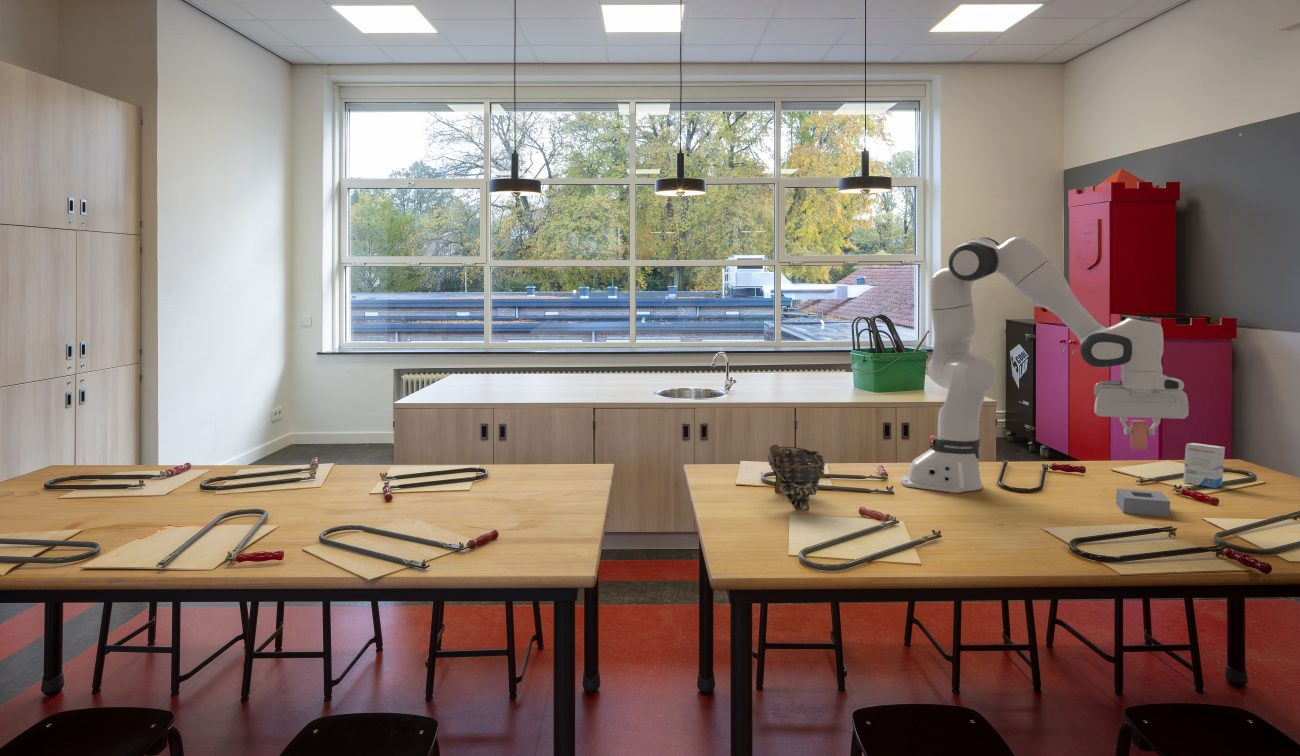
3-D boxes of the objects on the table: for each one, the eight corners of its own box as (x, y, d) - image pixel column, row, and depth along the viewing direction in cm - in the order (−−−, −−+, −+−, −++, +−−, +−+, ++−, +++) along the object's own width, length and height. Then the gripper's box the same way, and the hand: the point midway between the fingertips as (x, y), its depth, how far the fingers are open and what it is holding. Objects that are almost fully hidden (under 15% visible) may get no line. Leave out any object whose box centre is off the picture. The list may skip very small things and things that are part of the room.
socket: (1123, 513, 197) (1124, 497, 196) (1116, 502, 206) (1116, 488, 205) (1169, 516, 193) (1170, 501, 193) (1159, 506, 202) (1160, 491, 202)
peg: (1131, 449, 196) (1132, 422, 195) (1129, 446, 199) (1130, 420, 198) (1148, 450, 194) (1149, 422, 193) (1145, 447, 197) (1146, 420, 197)
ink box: (1223, 486, 222) (1226, 446, 221) (1216, 488, 219) (1219, 448, 218) (1189, 480, 229) (1192, 441, 228) (1182, 482, 226) (1185, 443, 225)
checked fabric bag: (760, 493, 223) (762, 442, 222) (812, 494, 223) (814, 443, 222) (775, 510, 200) (777, 453, 200) (833, 511, 201) (835, 454, 200)
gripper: (1095, 381, 196) (1094, 435, 197) (1191, 383, 188) (1189, 438, 189) (1092, 378, 201) (1091, 430, 203) (1185, 379, 193) (1183, 433, 195)
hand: (1139, 434), depth 196 cm, fingers closed on peg, 4 cm apart
